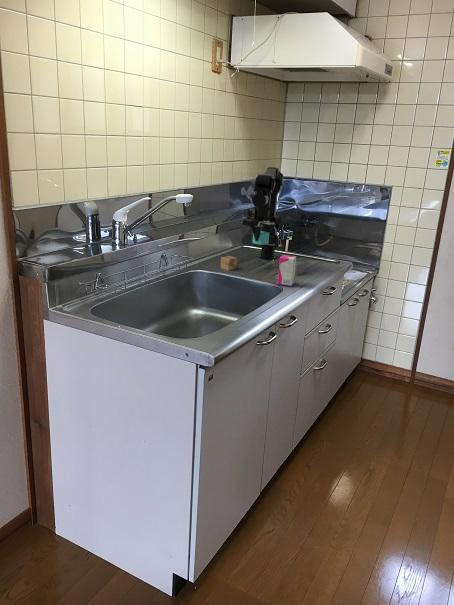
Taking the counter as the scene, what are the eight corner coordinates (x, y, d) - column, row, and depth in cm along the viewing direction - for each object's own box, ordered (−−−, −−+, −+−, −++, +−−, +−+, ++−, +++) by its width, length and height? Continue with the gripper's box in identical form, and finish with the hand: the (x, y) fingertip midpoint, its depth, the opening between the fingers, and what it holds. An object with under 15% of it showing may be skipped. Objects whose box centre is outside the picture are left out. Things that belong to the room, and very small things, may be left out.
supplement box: (294, 283, 203) (296, 256, 200) (291, 287, 198) (293, 259, 194) (280, 281, 205) (282, 254, 202) (277, 285, 200) (279, 257, 196)
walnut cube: (228, 266, 224) (229, 255, 223) (236, 269, 221) (237, 258, 219) (220, 268, 221) (221, 257, 219) (228, 270, 218) (228, 259, 216)
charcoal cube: (294, 271, 222) (295, 260, 221) (303, 273, 219) (304, 262, 217) (287, 272, 219) (288, 261, 217) (296, 275, 216) (297, 264, 214)
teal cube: (260, 241, 222) (261, 230, 221) (268, 243, 219) (269, 232, 217) (252, 242, 219) (253, 231, 217) (260, 245, 215) (261, 233, 214)
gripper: (264, 201, 225) (261, 235, 230) (234, 203, 213) (232, 239, 218) (282, 204, 217) (279, 239, 222) (253, 207, 205) (250, 244, 210)
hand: (260, 240), depth 218 cm, fingers closed on teal cube, 5 cm apart
